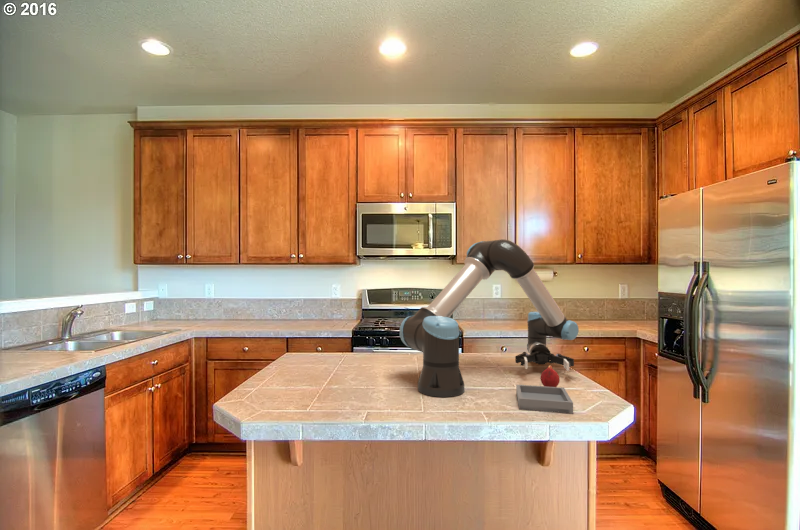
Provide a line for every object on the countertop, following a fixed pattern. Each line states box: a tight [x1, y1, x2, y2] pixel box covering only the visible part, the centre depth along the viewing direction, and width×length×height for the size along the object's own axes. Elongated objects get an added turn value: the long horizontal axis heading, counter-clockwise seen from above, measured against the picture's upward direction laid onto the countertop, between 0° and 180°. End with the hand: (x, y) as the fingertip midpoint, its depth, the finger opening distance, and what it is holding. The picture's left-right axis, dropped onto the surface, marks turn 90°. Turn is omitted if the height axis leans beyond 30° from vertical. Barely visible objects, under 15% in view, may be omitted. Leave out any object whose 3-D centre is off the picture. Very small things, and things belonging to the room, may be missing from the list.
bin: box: [515, 384, 574, 415], centre depth 112 cm, size 14×14×3 cm
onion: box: [540, 365, 561, 387], centre depth 124 cm, size 6×6×8 cm
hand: (547, 365), depth 133 cm, fingers open, 13 cm apart
